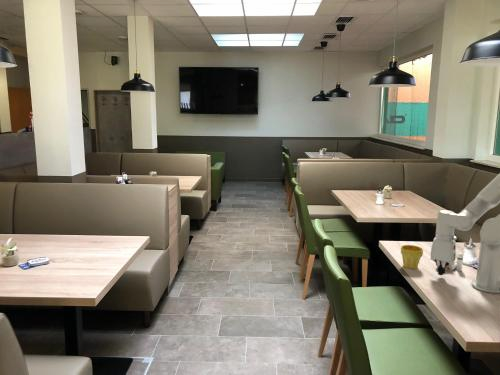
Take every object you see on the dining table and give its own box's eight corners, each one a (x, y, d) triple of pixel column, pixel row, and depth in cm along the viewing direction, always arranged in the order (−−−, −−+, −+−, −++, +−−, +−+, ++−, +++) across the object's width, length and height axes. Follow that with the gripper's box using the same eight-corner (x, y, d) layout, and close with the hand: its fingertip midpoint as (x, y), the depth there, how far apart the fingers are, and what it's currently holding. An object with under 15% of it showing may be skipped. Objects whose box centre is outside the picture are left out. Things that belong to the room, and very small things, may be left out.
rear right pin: (462, 270, 201) (464, 253, 200) (460, 271, 199) (462, 254, 198) (457, 268, 203) (458, 252, 201) (455, 270, 201) (456, 253, 200)
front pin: (454, 270, 200) (460, 266, 206) (453, 265, 200) (460, 261, 205) (448, 269, 202) (455, 265, 207) (448, 265, 202) (455, 260, 207)
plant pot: (423, 271, 199) (425, 252, 198) (401, 269, 201) (402, 250, 200) (419, 263, 209) (420, 245, 208) (398, 262, 211) (399, 244, 210)
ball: (446, 255, 204) (447, 256, 199) (450, 267, 203) (450, 268, 198) (434, 257, 206) (434, 258, 201) (437, 269, 205) (437, 270, 200)
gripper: (464, 238, 185) (460, 276, 189) (431, 232, 196) (428, 268, 199) (458, 242, 180) (454, 281, 184) (424, 235, 191) (421, 272, 194)
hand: (440, 274), depth 191 cm, fingers closed
